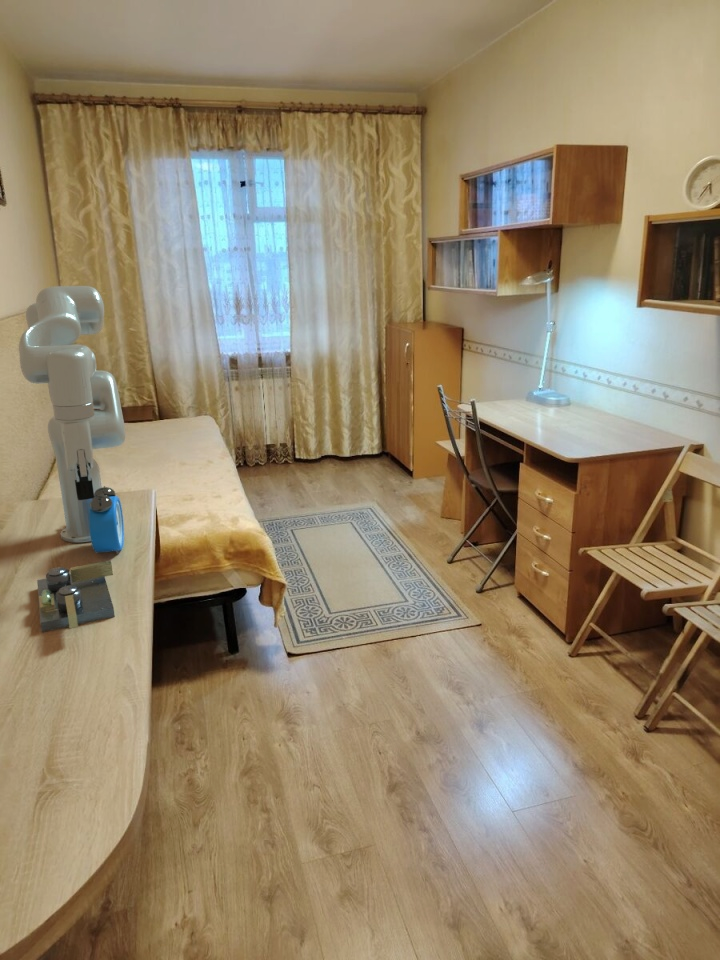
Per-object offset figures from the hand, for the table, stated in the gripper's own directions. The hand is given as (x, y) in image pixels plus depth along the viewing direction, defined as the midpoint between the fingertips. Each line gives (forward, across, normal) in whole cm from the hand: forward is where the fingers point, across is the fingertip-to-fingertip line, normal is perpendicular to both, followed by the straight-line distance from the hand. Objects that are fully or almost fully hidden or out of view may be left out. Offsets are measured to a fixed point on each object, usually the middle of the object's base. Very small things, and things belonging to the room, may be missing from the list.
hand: (85, 497), depth 141 cm
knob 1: (+17, +5, -3) cm, 18 cm away
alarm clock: (+19, -16, +4) cm, 26 cm away
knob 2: (+17, +19, -6) cm, 26 cm away
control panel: (+19, +8, -5) cm, 22 cm away
